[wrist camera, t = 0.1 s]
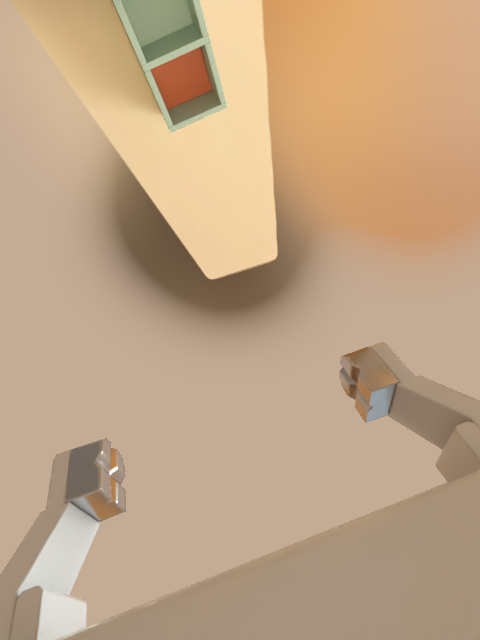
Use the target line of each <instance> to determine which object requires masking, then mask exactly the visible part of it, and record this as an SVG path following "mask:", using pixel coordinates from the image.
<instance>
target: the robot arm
mask: <svg viewBox="0 0 480 640" xmlns="http://www.w3.org/2000/svg"><path fill="white" fill-rule="evenodd" d="M340 363H341V365H342V366H343V368H342V369H341V370H340V380H341V384H342V386H343V388H344V390H345V392H346V394H347V395H348V396H349V397H351V398H353V399H355V400H356V403H355V407H356V409H357V410H358V412H359V413H360V415H361V416H362V418H363V420H364V421H365V422H369V421H372V420H375V419H378V418H381V417H384V416H387V415H389V417H391V418H392V419H394V420H395V421H397V422H399V423H400V424H402V425H404V426H405V427H407V428H408V429H410V430H412V431H413V432H415V433H417V434H418V435H420V436H421V437H423V438H425V439H426V440H428V441H430V442H431V443H433V444H434V445H436V446H438V447H439V448H441V449H442V452H441V454H440V456H439V458H438V460H437V462H436V467H437V468H438V470H439V471H440V472H441V474H442V475H443V476H444V477H445V479H446V480H447V483H445V484H442V485H440V486H437V487H435V488H432V489H430V490H427V491H425V492H422V493H420V494H417V495H415V496H412V497H410V498H407V499H405V500H403V501H400V502H397V503H395V504H393V505H390V506H387V507H385V508H382V509H380V510H377V511H375V512H372V513H370V514H367V515H365V516H362V517H360V518H357V519H355V520H352V521H350V522H348V523H345V524H342V525H340V526H337V527H335V528H332V529H330V530H328V531H325V532H322V533H320V534H317V535H315V536H312V537H310V538H307V539H305V540H303V541H300V542H297V543H295V544H292V545H290V546H287V547H285V548H283V549H280V550H277V551H275V552H272V553H270V554H268V555H265V556H262V557H260V558H257V559H255V560H252V561H250V562H247V563H245V564H242V565H240V566H238V567H235V568H232V569H230V570H227V571H225V572H222V573H220V574H217V575H215V576H213V577H210V578H207V579H205V580H203V581H200V582H198V583H195V584H192V585H190V586H187V587H185V588H182V589H180V590H177V591H175V592H173V593H170V594H168V595H165V596H163V597H160V598H158V599H155V600H153V601H150V602H148V603H145V604H143V605H140V606H138V607H135V608H133V609H130V610H128V611H125V612H123V613H120V614H118V615H115V616H113V617H110V618H108V619H105V620H103V621H100V622H98V623H95V624H93V625H90V626H88V627H86V615H87V603H86V602H85V601H84V600H83V599H80V598H77V597H74V596H71V595H69V594H70V592H71V589H72V587H73V585H74V583H75V580H76V578H77V575H78V573H79V571H80V569H81V566H82V564H83V562H84V559H85V557H86V555H87V552H88V550H89V548H90V545H91V543H92V541H93V538H94V536H95V534H96V532H97V529H98V527H99V525H100V523H99V522H100V521H103V520H105V519H108V518H110V517H113V516H115V515H118V514H120V513H123V512H125V511H126V498H125V489H124V488H123V487H122V486H121V483H122V481H123V479H124V477H125V467H124V463H123V458H122V456H121V454H120V453H119V451H118V450H117V449H113V448H111V442H110V441H109V440H107V438H105V439H102V440H99V441H96V442H93V443H90V444H87V445H84V446H81V447H78V448H75V449H71V450H68V451H65V452H62V453H60V454H57V455H56V456H55V458H54V460H53V466H52V472H51V480H50V486H49V493H48V500H47V507H46V510H45V511H43V512H41V513H40V515H39V516H38V518H37V519H36V521H35V522H34V524H33V526H32V527H31V529H30V530H29V532H28V533H27V535H26V536H25V538H24V540H23V541H22V543H21V544H20V546H19V547H18V549H17V550H16V552H15V553H14V555H13V557H12V558H11V560H10V561H9V563H8V564H7V566H6V567H5V569H4V571H3V572H2V574H1V575H0V640H480V401H479V400H477V399H474V398H472V397H469V396H467V395H465V394H462V393H460V392H458V391H455V390H453V389H450V388H448V387H446V386H444V385H441V384H438V383H436V382H434V381H431V380H429V379H427V378H424V377H422V376H417V377H415V375H414V374H413V373H412V372H411V371H410V370H409V369H408V368H407V366H406V365H405V364H404V363H403V362H402V361H401V360H400V359H399V358H398V356H397V355H396V354H395V353H394V352H393V351H392V350H391V349H390V348H389V346H388V345H387V344H385V343H383V342H382V343H378V344H376V345H373V346H370V347H366V348H363V349H360V350H358V351H355V352H352V353H349V354H347V355H344V356H342V357H341V361H340Z"/></svg>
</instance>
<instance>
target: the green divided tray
mask: <svg viewBox="0 0 480 640" xmlns="http://www.w3.org/2000/svg"><path fill="white" fill-rule="evenodd" d="M112 1H113V3H114V5H115V8H116V10H117V12H118V14H119V17H120V19H121V21H122V23H123V26H124V28H125V30H126V33H127V35H128V37H129V39H130V42H131V44H132V46H133V48H134V51H135V53H136V55H137V57H138V60H139V62H140V64H141V67H142V69H143V71H144V73H145V76H146V78H147V80H148V82H149V85H150V87H151V89H152V91H153V94H154V96H155V98H156V101H157V103H158V105H159V107H160V110H161V112H162V114H163V116H164V119H165V121H166V123H167V125H168V128H169V130H170V132H174V131H176V130H178V129H180V128H183V127H185V126H187V125H189V124H191V123H194V122H196V121H198V120H200V119H203V118H205V117H207V116H209V115H212V114H214V113H216V112H218V111H220V110H223V109H225V108H227V104H226V100H225V96H224V92H223V89H222V85H221V81H220V77H219V73H218V69H217V65H216V62H215V58H214V54H213V50H212V46H211V42H210V38H209V35H208V31H207V27H206V23H205V19H204V15H203V11H202V8H201V4H200V0H112Z"/></svg>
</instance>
